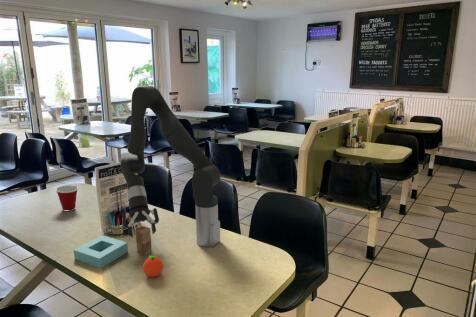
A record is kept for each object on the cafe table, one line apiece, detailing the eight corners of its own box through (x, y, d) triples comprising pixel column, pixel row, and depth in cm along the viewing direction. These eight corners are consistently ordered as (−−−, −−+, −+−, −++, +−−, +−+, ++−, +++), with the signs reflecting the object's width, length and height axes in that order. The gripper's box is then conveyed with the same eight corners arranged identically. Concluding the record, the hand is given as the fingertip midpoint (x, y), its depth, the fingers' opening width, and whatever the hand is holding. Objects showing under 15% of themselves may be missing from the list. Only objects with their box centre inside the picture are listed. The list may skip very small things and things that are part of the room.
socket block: (127, 251, 143) (127, 242, 142) (100, 268, 131) (99, 258, 130) (103, 243, 149) (102, 235, 148) (74, 259, 137) (73, 249, 136)
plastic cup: (75, 213, 181) (72, 191, 178) (54, 213, 181) (51, 191, 178) (84, 205, 191) (81, 184, 188) (64, 205, 191) (61, 184, 188)
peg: (151, 250, 143) (150, 228, 141) (144, 255, 140) (143, 232, 137) (144, 248, 145) (142, 226, 143) (137, 252, 142) (135, 229, 139)
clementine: (139, 272, 128) (138, 255, 126) (157, 266, 132) (156, 249, 130) (148, 283, 122) (147, 264, 120) (167, 276, 126) (165, 258, 124)
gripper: (119, 197, 143) (124, 234, 136) (155, 192, 149) (161, 228, 141) (119, 204, 149) (124, 241, 142) (153, 200, 155) (159, 235, 147)
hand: (142, 235), depth 142 cm, fingers open, 8 cm apart
